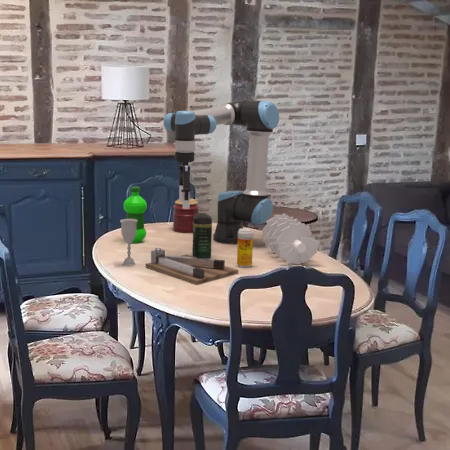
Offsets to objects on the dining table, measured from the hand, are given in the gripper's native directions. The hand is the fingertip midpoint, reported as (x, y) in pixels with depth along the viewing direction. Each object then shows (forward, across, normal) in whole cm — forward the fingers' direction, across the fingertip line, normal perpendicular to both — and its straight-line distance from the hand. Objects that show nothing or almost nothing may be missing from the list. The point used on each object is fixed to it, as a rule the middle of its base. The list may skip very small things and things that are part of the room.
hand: (184, 205), depth 272 cm
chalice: (+25, -4, -22) cm, 34 cm away
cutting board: (+25, +7, +2) cm, 26 cm away
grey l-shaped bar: (+24, +10, -3) cm, 26 cm away
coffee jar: (+25, -13, +9) cm, 30 cm away
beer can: (+25, +1, +25) cm, 35 cm away
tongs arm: (+23, +6, +4) cm, 24 cm away
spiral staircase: (+25, -8, +45) cm, 52 cm away
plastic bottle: (+25, -42, -18) cm, 52 cm away
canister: (+25, -63, +7) cm, 68 cm away
